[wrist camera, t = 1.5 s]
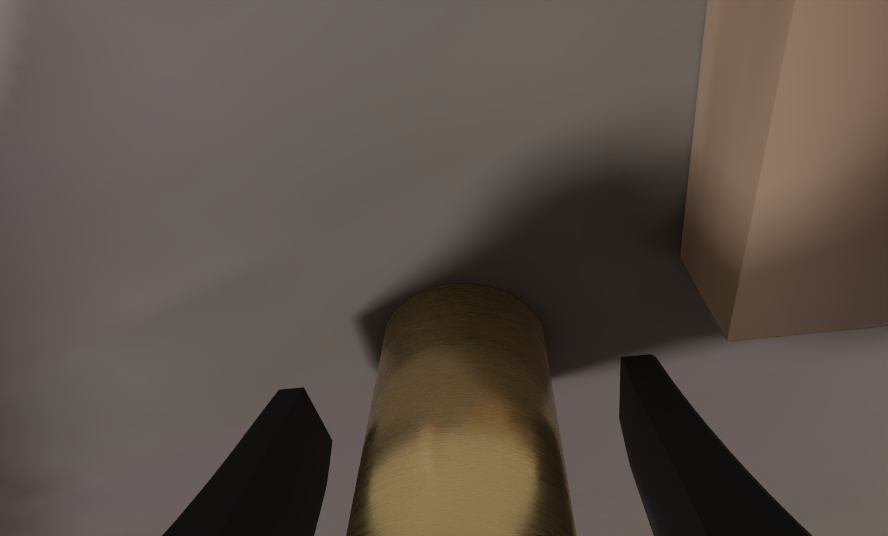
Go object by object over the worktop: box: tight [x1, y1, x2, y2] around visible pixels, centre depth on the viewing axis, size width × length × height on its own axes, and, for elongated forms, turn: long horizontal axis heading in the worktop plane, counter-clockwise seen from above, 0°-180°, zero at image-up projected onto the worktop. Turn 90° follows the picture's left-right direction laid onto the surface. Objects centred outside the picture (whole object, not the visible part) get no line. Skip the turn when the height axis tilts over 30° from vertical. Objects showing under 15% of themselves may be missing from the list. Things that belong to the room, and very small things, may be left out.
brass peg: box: [346, 283, 577, 536], centre depth 10 cm, size 4×4×6 cm
